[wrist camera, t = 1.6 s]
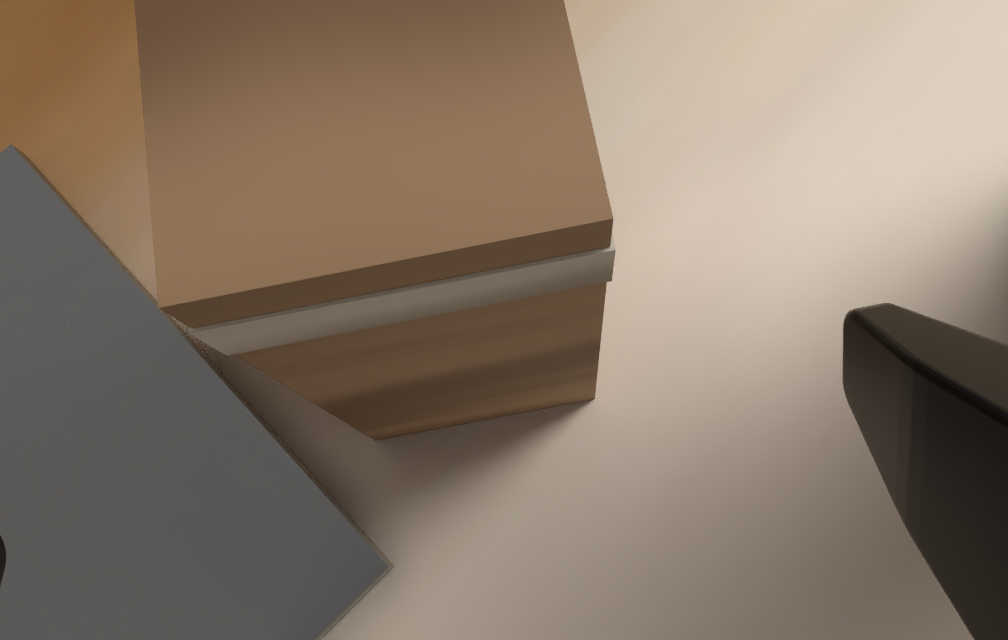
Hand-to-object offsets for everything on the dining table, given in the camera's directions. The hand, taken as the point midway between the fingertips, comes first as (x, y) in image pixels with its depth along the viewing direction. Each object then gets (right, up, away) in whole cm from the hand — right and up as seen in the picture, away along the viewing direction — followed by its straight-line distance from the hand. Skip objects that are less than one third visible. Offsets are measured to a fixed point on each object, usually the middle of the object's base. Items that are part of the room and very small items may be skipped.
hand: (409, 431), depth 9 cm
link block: (0, +1, +12) cm, 12 cm away
